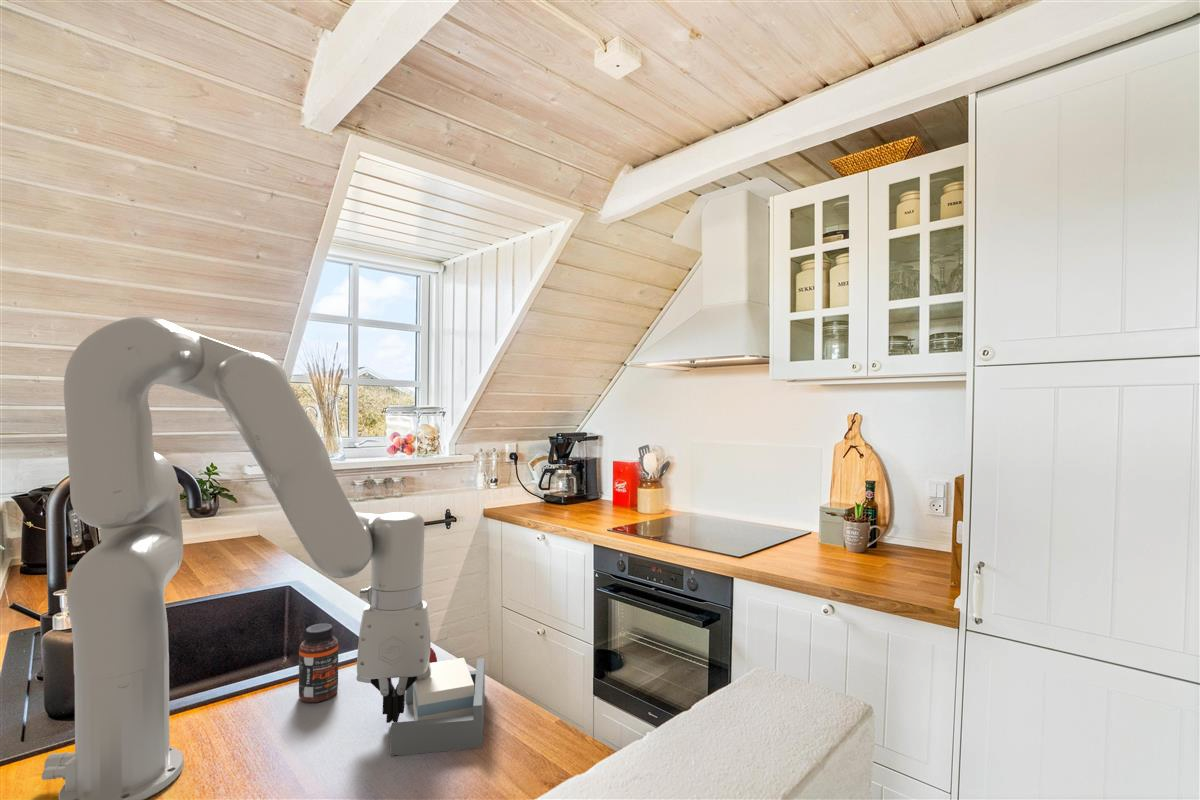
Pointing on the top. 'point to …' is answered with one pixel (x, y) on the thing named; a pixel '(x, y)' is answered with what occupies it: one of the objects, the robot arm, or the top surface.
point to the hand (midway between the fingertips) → (393, 717)
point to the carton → (444, 691)
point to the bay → (442, 726)
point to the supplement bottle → (318, 664)
